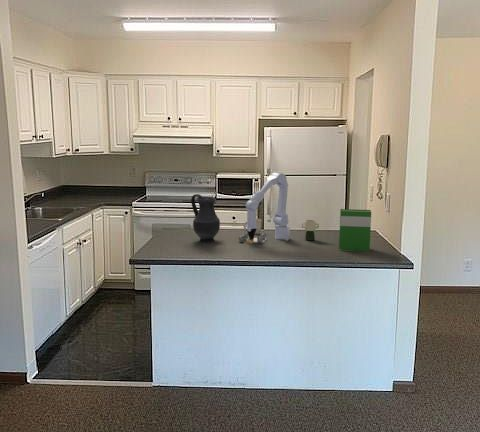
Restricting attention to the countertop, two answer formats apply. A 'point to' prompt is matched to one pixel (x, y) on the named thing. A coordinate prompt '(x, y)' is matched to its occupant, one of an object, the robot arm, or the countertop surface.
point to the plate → (256, 240)
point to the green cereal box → (355, 229)
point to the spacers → (245, 236)
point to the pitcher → (205, 218)
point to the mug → (258, 226)
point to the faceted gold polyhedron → (249, 240)
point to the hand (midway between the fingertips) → (251, 240)
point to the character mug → (310, 229)
